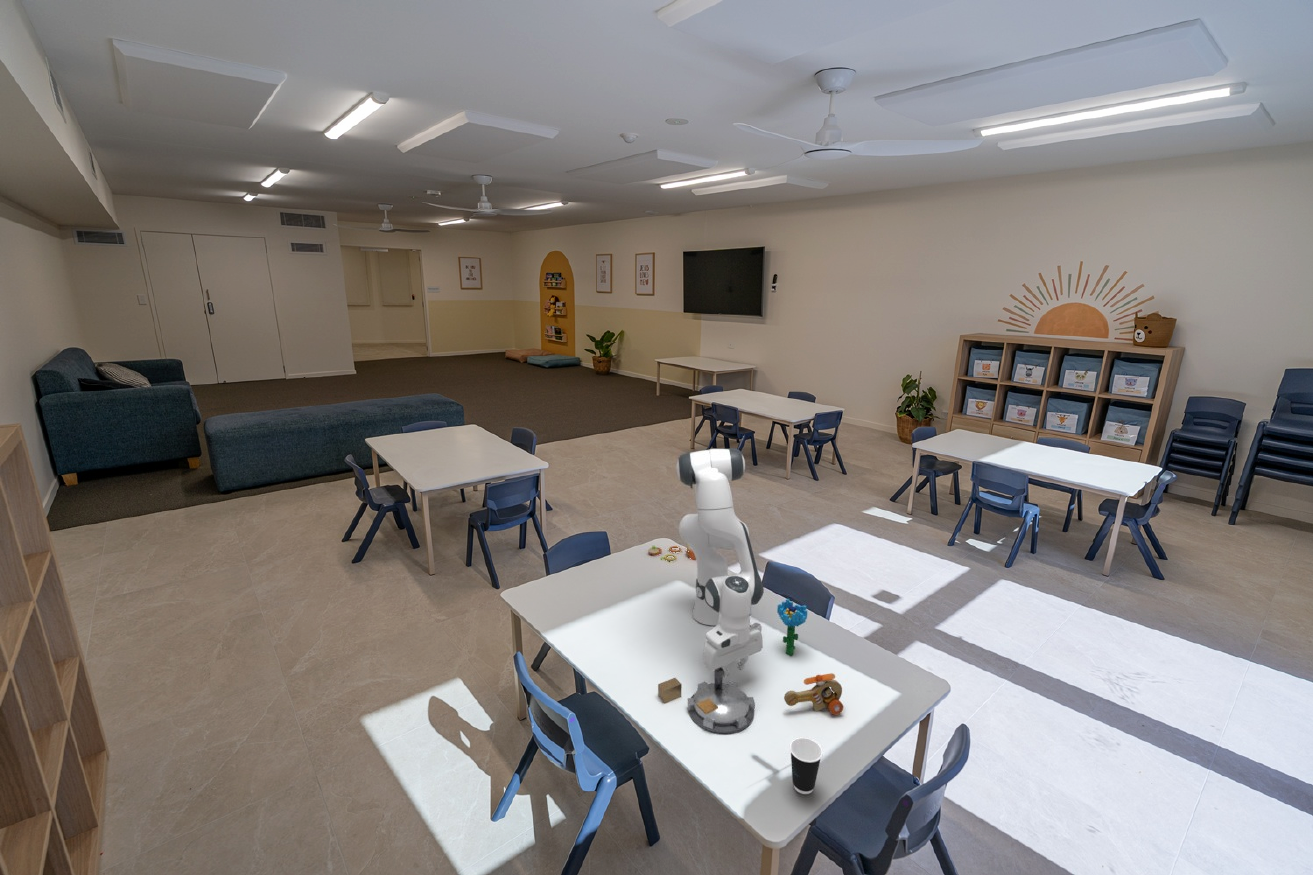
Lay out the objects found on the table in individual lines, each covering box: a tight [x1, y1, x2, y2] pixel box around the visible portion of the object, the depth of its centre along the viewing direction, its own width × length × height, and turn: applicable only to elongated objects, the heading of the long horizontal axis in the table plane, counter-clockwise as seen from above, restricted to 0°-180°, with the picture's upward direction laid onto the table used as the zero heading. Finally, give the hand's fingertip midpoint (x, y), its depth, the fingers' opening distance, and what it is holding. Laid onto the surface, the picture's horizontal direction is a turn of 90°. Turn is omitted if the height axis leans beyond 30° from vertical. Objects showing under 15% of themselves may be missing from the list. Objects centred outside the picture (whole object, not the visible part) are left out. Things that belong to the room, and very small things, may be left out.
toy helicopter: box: [783, 672, 844, 716], centre depth 167 cm, size 7×18×12 cm, turn 102°
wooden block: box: [657, 677, 683, 705], centre depth 172 cm, size 6×4×5 cm, turn 121°
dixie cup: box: [789, 737, 824, 795], centre depth 140 cm, size 8×8×11 cm
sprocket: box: [687, 667, 756, 729], centre depth 166 cm, size 18×19×8 cm
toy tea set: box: [648, 545, 696, 563], centre depth 264 cm, size 26×16×10 cm, turn 105°
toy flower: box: [777, 598, 808, 657], centre depth 193 cm, size 9×9×18 cm
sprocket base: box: [687, 693, 755, 735], centre depth 168 cm, size 19×19×1 cm
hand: (733, 671), depth 175 cm, fingers open, 5 cm apart
